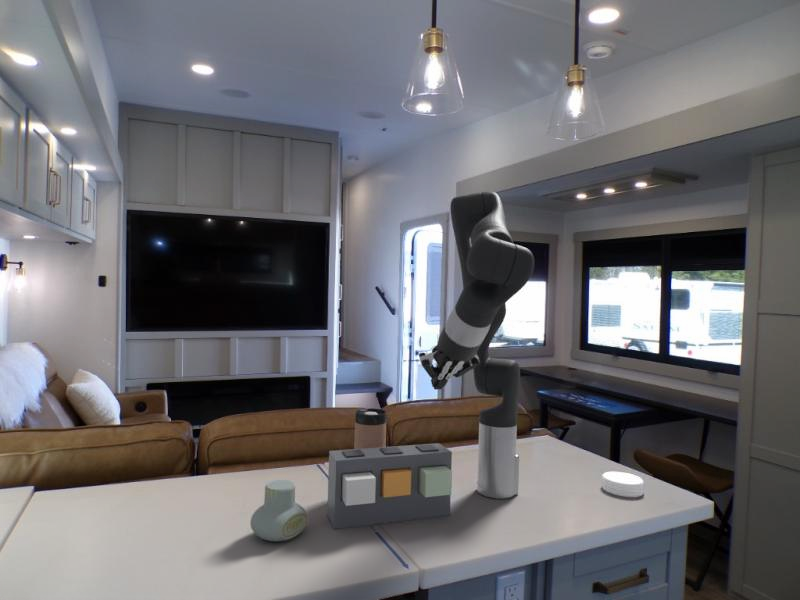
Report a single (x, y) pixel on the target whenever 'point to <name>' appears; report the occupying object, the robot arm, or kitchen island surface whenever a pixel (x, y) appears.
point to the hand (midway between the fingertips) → (436, 385)
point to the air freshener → (279, 513)
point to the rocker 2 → (434, 480)
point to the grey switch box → (383, 506)
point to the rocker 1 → (358, 488)
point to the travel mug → (370, 429)
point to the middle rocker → (395, 482)
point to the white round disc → (622, 484)
